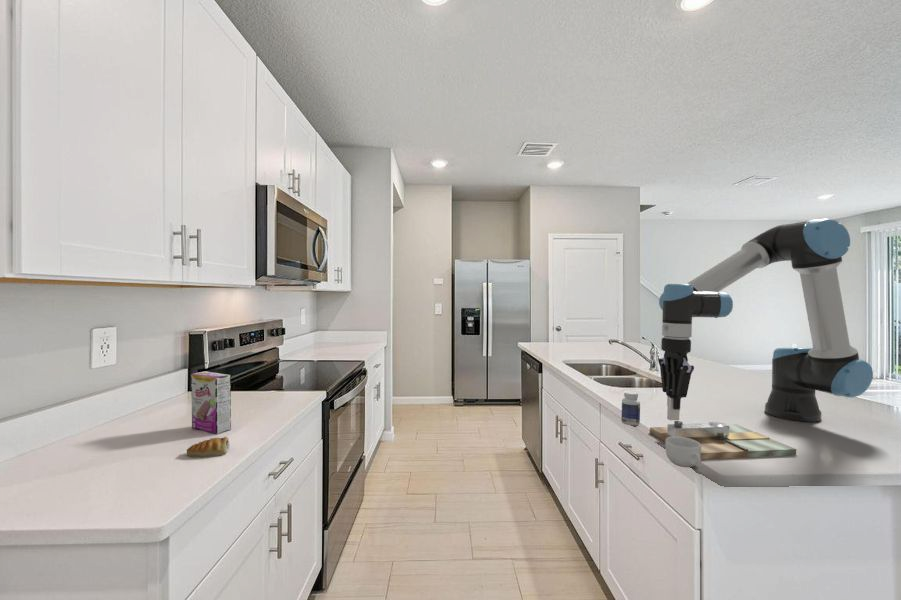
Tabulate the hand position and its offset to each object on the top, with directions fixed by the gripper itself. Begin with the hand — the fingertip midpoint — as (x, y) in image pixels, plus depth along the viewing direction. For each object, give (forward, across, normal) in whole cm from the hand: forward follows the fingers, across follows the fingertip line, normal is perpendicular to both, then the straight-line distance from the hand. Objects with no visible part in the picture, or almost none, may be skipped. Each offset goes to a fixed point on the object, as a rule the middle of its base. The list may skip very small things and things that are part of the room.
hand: (673, 419), depth 126 cm
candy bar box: (+7, -19, -133) cm, 134 cm away
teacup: (+5, +19, -10) cm, 22 cm away
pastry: (+7, 0, -125) cm, 125 cm away
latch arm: (+2, +6, +4) cm, 8 cm away
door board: (+5, +6, +9) cm, 12 cm away
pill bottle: (+5, -13, -6) cm, 15 cm away
